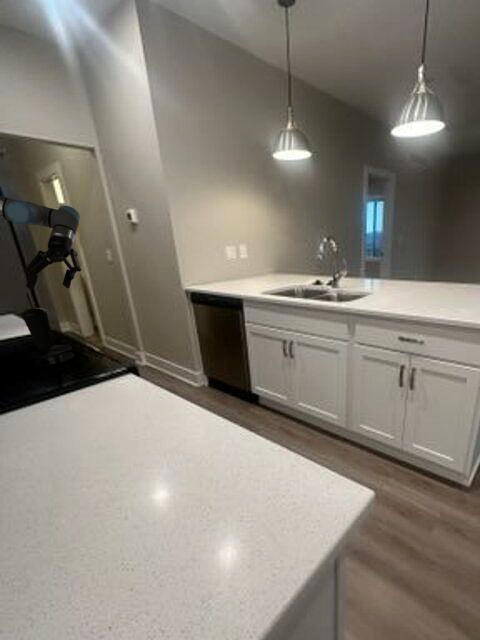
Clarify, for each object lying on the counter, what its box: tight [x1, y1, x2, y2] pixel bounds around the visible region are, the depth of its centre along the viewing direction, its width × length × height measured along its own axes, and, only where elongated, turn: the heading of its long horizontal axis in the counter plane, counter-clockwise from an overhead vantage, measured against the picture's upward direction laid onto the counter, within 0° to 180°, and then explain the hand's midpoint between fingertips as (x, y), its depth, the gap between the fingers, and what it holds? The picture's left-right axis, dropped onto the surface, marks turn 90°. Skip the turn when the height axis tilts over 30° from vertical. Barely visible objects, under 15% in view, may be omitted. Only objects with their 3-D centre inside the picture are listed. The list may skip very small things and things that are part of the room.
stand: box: [30, 344, 76, 370], centre depth 110 cm, size 11×11×4 cm
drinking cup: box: [19, 293, 55, 350], centre depth 120 cm, size 8×8×20 cm
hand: (47, 287), depth 126 cm, fingers open, 13 cm apart
